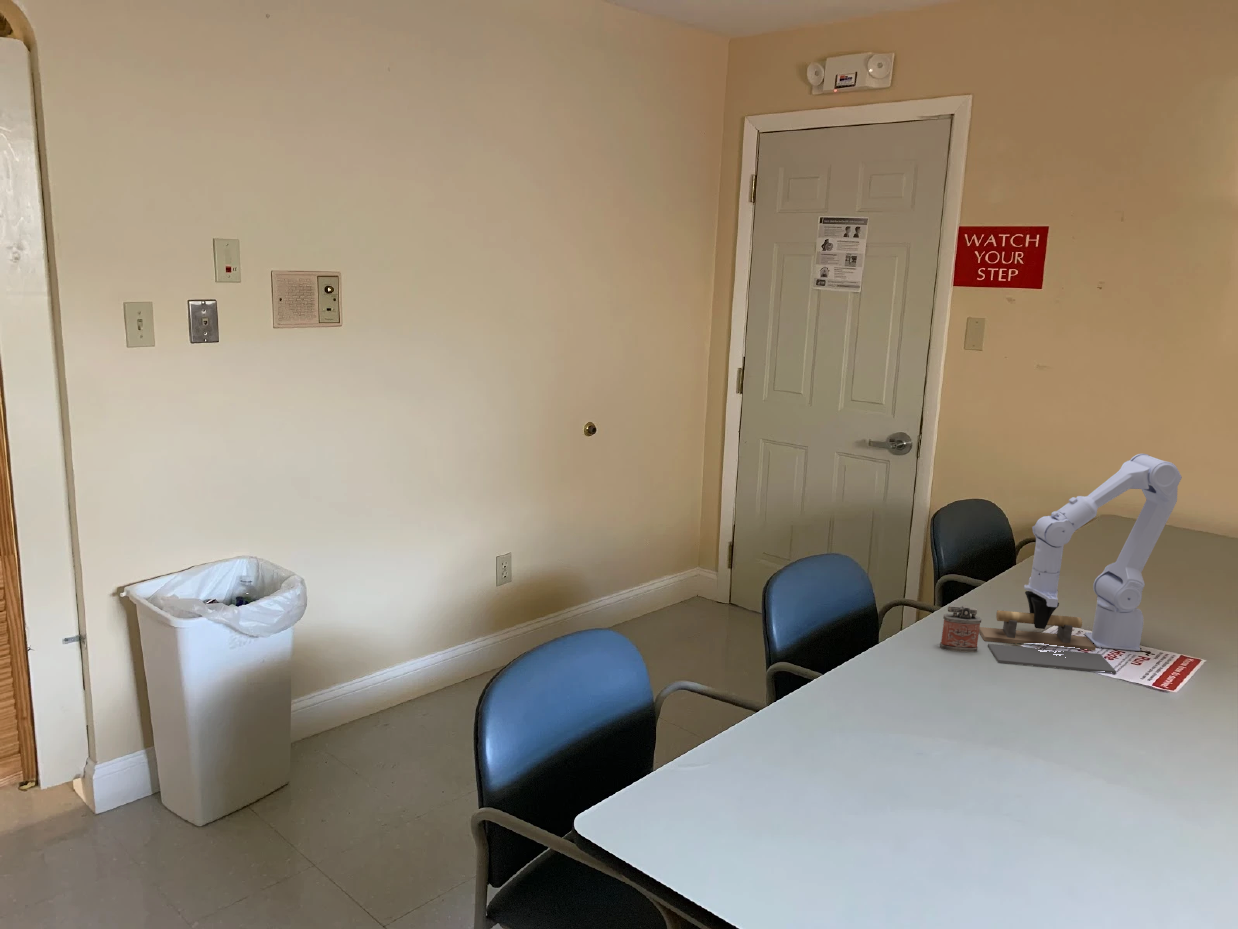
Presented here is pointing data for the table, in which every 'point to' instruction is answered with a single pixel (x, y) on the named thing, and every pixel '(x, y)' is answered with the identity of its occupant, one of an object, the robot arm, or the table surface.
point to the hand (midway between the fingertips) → (1037, 625)
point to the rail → (1029, 619)
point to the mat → (1050, 658)
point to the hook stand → (1035, 636)
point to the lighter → (960, 629)
